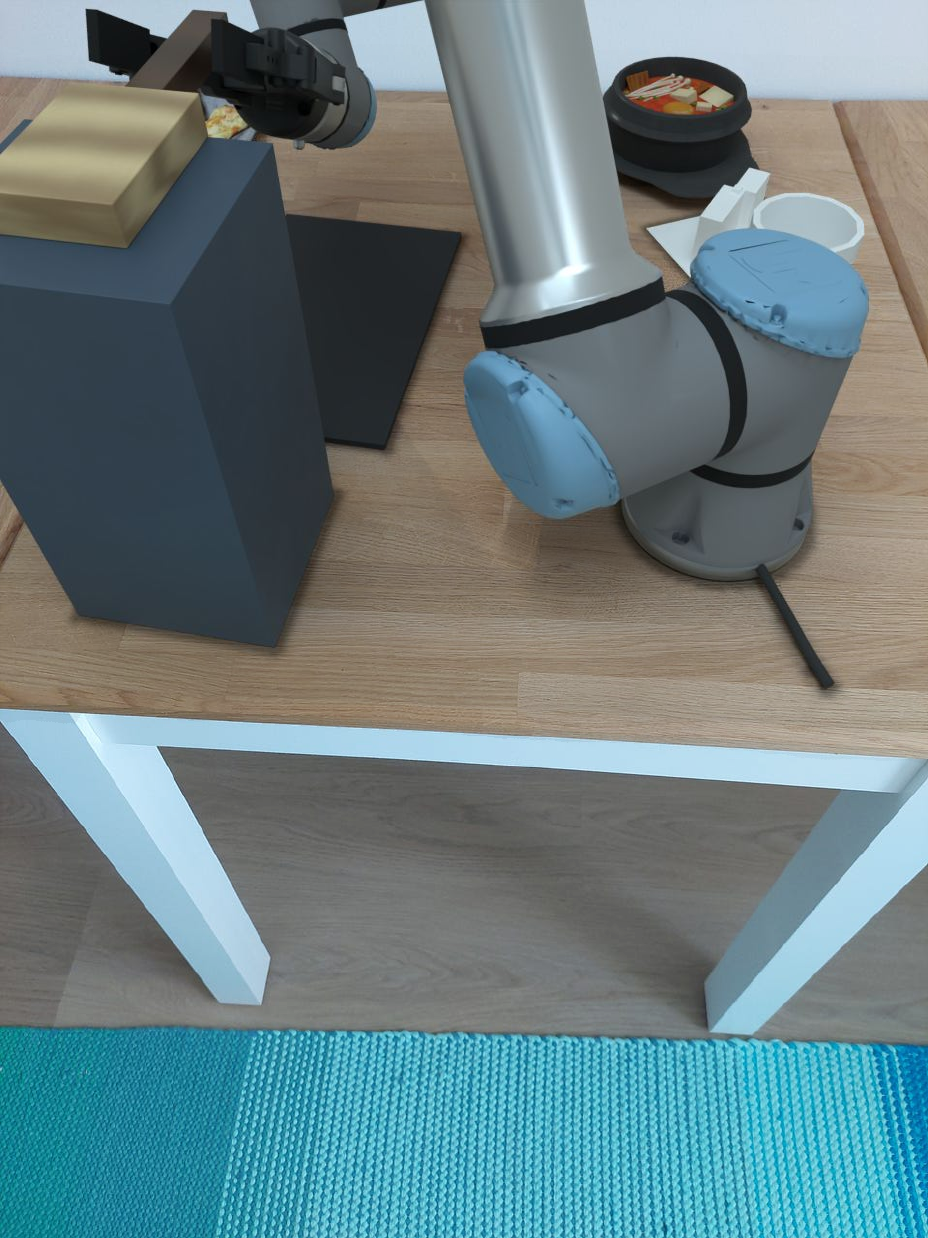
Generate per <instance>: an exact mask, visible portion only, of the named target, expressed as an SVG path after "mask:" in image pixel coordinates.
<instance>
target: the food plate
mask: <svg viewBox="0 0 928 1238" xmlns="http://www.w3.org/2000/svg"><path fill="white" fill-rule="evenodd" d="M196 93H199V96H200V101H201V105H202V110H203V114H204V118H205V123H206V127H207V132H208V137H215V138H226V139H236V140H246V141H255V139H256V138H257V136H258V134H259V132H257V131H255V130H254V129H252V128H251V127H250V126H249V125H247V124H246V123H245V122H244V120H243V119H242V118H241V117H240V115H239V114H238V112H237V111H236V109H235V107H234V105H233V104H229V103H228V102H227V101H226V100H225V99H221V98H216V97H211V96H205V95H204V94H203V93H202V92H201V89H200V88H199V89H198V90H197V91H196Z"/></svg>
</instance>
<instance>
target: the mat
mask: <svg viewBox="0 0 928 1238" xmlns="http://www.w3.org/2000/svg"><path fill="white" fill-rule="evenodd" d="M285 216H286V222H287V227H288V233H289V239H290V245H291V250H292V256H293V262H294V268H295V273H296V279H297V285H298V291H299V296H300V302H301V308H302V314H303V319H304V325H305V331H306V337H307V342H308V348H309V354H310V360H311V365H312V371H313V377H314V383H315V388H316V394H317V400H318V406H319V411H320V417H321V423H322V429H323V435H324V440H325V443H333V444H338V445H339V444H340V445H345V446H346V445H347V446H353V447H360V448H361V447H362V448H369V449H376V450H383V451H384V450H385V451H386V449H387V448H386V447H387V445H388V442H389V439H390V436H391V434H392V430H393V429H394V426H395V423H396V420H397V418H398V414H399V412H400V409H401V406H402V404H403V400H404V398H405V395H406V393H407V390H408V388H409V385H410V384H409V383H410V381H411V379H412V375H413V373H414V370H415V367H416V365H417V362H418V359H419V357H420V354H421V351H422V348H423V346H424V342H425V339H426V336H427V334H428V331H429V328H430V325H431V322H432V320H433V317H434V314H435V311H436V310H437V306H438V304H439V300H440V298H441V295H442V292H443V289H444V287H445V285H446V282H447V279H448V275H449V272H450V270H451V267H452V265H453V262H454V259H455V256H456V254H457V250H458V248H459V245H460V243H461V239H462V231H454V230H453V231H452V230H444V229H434V228H425V227H417V226H416V227H415V226H407V225H406V226H405V225H397V224H388V223H387V224H386V223H379V222H370V221H369V222H368V221H360V220H351V219H350V220H349V219H342V218H341V219H340V218H330V217H324V216H323V217H322V216H321V217H320V216H312V215H302V214H294V213H293V214H292V213H285Z"/></svg>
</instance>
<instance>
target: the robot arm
mask: <svg viewBox="0 0 928 1238" xmlns="http://www.w3.org/2000/svg"><path fill="white" fill-rule="evenodd" d="M422 1H424V5H425V10H426V13H427V17H428V21H429V25H430V29H431V30H430V31H431V33H432V37H433V41H434V46H435V50H436V53H437V58H438V61H439V66H440V70H441V75H442V78H443V82H444V87H445V90H446V94H447V98H448V102H449V107H450V111H451V114H452V119H453V122H454V127H455V132H456V135H457V139H458V143H459V147H460V151H461V156H462V159H463V163H464V164H463V165H464V167H465V172H466V175H467V179H468V184H469V187H470V192H471V196H472V200H473V204H474V208H475V212H476V216H477V220H478V223H479V229H480V233H481V236H482V240H483V244H484V248H485V252H486V256H487V261H488V265H489V267H490V272H491V277H492V281H493V289H492V292H491V295H490V296H489V299H488V301H487V302H486V304H485V306H484V308H483V310H482V312H481V314H480V316H479V318H478V325H479V328H480V332H481V336H482V340H483V344H484V349H485V350H484V351H480V352H478V353H477V354H476V355H475V356H474V358H473V359H471V360H470V361H469V362H468V364H467V365H466V366H465V369H464V372H463V379H462V380H463V381H462V382H463V385H464V387H465V389H464V391H463V396H464V402H465V407H466V411H467V414H468V418H469V420H470V423H471V426H472V429H473V431H474V433H475V436H476V438H477V441H478V442H479V445H480V447H481V449H482V451H483V453H484V454H485V457H486V458H487V461H488V462H489V464H490V465H491V466H492V468H493V470H494V472H495V473H496V474H497V476H498V477H499V479H500V480H501V482H502V483H503V484H504V485H505V486H506V487H507V489H508V490H509V491H510V493H512V495H513V496H514V497H515V498H516V499H517V500H518V501H519V502H520V503H521V504H522V505H524V506H525V507H526V508H528V509H529V510H531V511H532V512H533V513H536V514H538V515H540V516H542V517H546V518H548V519H555V520H556V519H557V520H563V519H568V518H571V517H575V516H578V515H581V514H583V513H586V512H589V511H592V510H594V509H595V510H596V509H599V508H603V509H604V508H608V507H612V506H614V505H616V504H617V503H618V502H619V501H620V500H621V509H622V516H623V519H624V522H625V524H626V527H627V529H628V531H629V532H630V534H631V535H632V538H634V540H635V541H636V542H637V543H638V544H639V546H640V547H641V548H642V549H643V550H644V551H646V552H647V553H648V554H649V555H650V556H652V557H653V558H654V559H656V560H657V561H658V562H660V563H662V564H663V565H666V566H667V567H669V568H671V569H673V570H676V571H677V572H681V573H683V574H685V575H689V576H691V577H696V578H701V579H705V580H711V581H722V582H725V581H726V582H727V581H728V582H730V581H732V582H734V581H744V580H745V581H746V580H750V579H755V578H759V579H760V581H761V583H762V585H763V586H764V588H765V589H766V592H767V593H768V595H769V597H770V599H771V600H772V602H773V604H774V605H775V607H776V609H777V610H778V613H779V614H780V616H781V617H782V619H783V621H784V623H785V624H786V626H787V628H788V630H789V632H790V634H791V636H792V638H793V639H794V641H795V643H796V645H797V647H798V649H799V650H800V652H801V653H802V655H803V657H804V658H805V660H806V662H807V663H808V665H809V667H810V668H811V671H812V672H813V673H814V675H815V676H816V678H817V679H818V681H819V682H820V684H821V686H822V687H823V689H828V688H830V687H832V686H834V684H835V680H834V679H833V677H832V676H831V675H830V673H829V671H828V670H827V669H826V667H825V666H824V664H823V662H822V661H821V659H820V658H819V656H818V654H817V653H816V651H815V649H814V648H813V646H812V644H811V642H810V641H809V639H808V637H807V635H806V634H805V631H804V630H803V628H802V626H801V625H800V623H799V620H798V619H797V617H796V616H795V614H794V612H793V611H792V609H791V607H790V606H789V605H790V604H788V602H787V600H786V598H785V597H784V595H783V593H782V591H781V590H780V588H779V586H778V585H777V583H776V581H775V580H774V578H773V576H772V575H771V574H772V573H773V572H774V571H776V570H778V569H781V568H782V567H783V566H785V565H786V564H787V563H789V562H790V561H791V560H792V559H793V558H794V557H795V556H796V554H797V553H798V552H799V550H800V549H801V547H802V545H803V544H804V541H805V539H806V536H807V534H808V532H809V530H810V527H811V524H812V520H813V513H814V512H813V511H814V493H813V492H814V490H813V469H812V466H813V465H812V459H813V456H814V454H815V452H816V449H817V446H818V444H819V441H820V439H821V437H822V434H823V432H824V430H825V427H826V424H827V422H828V420H829V418H830V415H831V413H832V410H833V407H834V404H835V403H836V400H837V397H838V395H839V392H840V390H841V388H842V385H843V382H844V380H845V378H846V375H847V373H848V371H849V368H850V366H851V363H852V361H853V358H854V356H855V355H856V354H857V353H858V352H859V350H860V348H861V344H862V338H861V337H862V334H863V330H864V328H865V325H866V322H867V318H868V317H869V316H868V315H869V311H870V302H869V301H870V293H869V290H868V287H867V285H866V282H865V281H864V279H863V277H862V276H861V274H860V273H859V272H858V271H857V270H856V269H855V268H854V266H852V264H851V265H850V264H849V263H848V262H847V261H846V260H844V259H843V258H842V257H841V256H839V255H838V254H836V253H835V252H833V251H831V250H830V249H828V248H826V247H824V246H822V245H820V244H818V243H816V242H814V241H811V240H808V239H805V238H802V237H800V236H796V235H792V234H789V233H786V232H781V231H776V230H769V229H757V228H744V229H735V230H729V231H725V232H722V233H719V234H716V235H715V236H713V237H711V238H709V239H708V240H706V241H705V242H704V243H703V244H702V246H701V247H700V248H699V251H698V253H697V256H696V257H695V258H694V260H693V261H692V262H691V264H690V274H691V278H690V277H689V280H688V282H687V283H685V284H684V285H682V286H679V287H676V288H673V289H670V290H668V291H666V289H665V284H664V283H665V282H664V278H663V273H662V269H661V268H660V267H659V266H657V265H655V263H652V262H651V261H649V260H648V259H646V258H645V257H643V256H641V255H640V254H638V253H637V251H636V250H635V249H634V248H633V247H632V245H631V241H630V235H629V229H628V225H627V219H626V213H625V209H624V203H623V198H622V193H621V187H620V183H619V177H618V171H617V170H616V166H615V161H614V155H613V150H612V145H611V139H610V134H609V129H608V124H607V118H606V113H605V108H604V102H603V92H602V87H601V82H600V78H599V77H600V76H599V71H598V67H597V66H598V65H597V60H596V56H595V55H596V54H595V50H594V44H593V40H592V35H591V30H590V29H591V28H590V23H589V19H588V13H587V7H586V3H585V0H249V3H250V5H251V9H252V11H253V15H254V18H255V20H256V24H257V26H258V29H256V30H255V29H254V30H253V31H249V30H246V29H244V28H243V27H240V26H238V25H236V24H234V23H231V22H230V21H228V22H227V21H225V20H222V19H211V50H212V72H211V73H210V75H209V76H208V77H207V78H206V80H205V81H204V82H203V84H202V85H201V86H200V87H199V88H200V89H201V92H202V93H203V94H204V95H205V96H211V97H216V98H221V99H225V100H226V101H227V102H228V103H229V104H233V105H234V107H235V109H236V111H237V112H238V114H239V115H240V117H241V118H242V119H243V120H244V122H245V123H246V124H247V125H249V126H250V127H251V128H252V129H254V130H255V131H257V132H258V134H259V133H260V134H262V135H264V136H267V137H271V138H272V137H273V138H277V139H281V140H289V141H293V142H292V145H293V148H294V149H295V150H296V151H303V150H304V149H305V146H306V144H309V145H312V146H314V147H316V148H318V149H321V150H325V151H326V150H330V151H334V150H337V149H340V150H341V149H348V148H353V147H354V146H356V145H358V144H359V143H361V142H362V141H363V140H364V139H365V138H366V137H367V136H368V135H369V133H371V130H372V129H373V126H374V124H375V121H376V118H377V113H378V102H377V95H376V91H375V89H374V86H373V84H372V82H371V80H370V79H369V77H368V76H367V75H366V74H365V71H364V70H363V69H362V68H361V67H359V65H358V62H357V59H356V56H355V52H354V48H353V45H352V42H351V39H350V36H349V31H348V27H347V24H346V21H345V18H348V17H352V16H357V15H361V14H365V13H370V12H374V11H378V10H383V9H384V10H385V9H388V8H393V7H398V6H399V7H400V6H403V5H408V4H412V3H413V4H414V3H417V2H422ZM84 9H85V23H86V39H87V53H88V56H87V57H88V62H92V63H95V64H99V65H102V66H106V67H108V72H110V73H111V74H114V75H115V76H127V77H128V82H129V81H130V80H131V79H132V78H133V77H134V76H135V74H136V73H137V72H138V71H139V70H140V69H141V68H142V67H143V65H144V64H145V63H146V62H147V61H148V60H149V59H150V57H151V56H152V55H153V54H154V53H155V52H156V51H157V50H158V48H159V47H160V46H161V45H162V44H163V43H164V42H165V41H166V39H167V38H168V37H164V36H159V35H155V34H151V29H150V28H148V27H145V26H143V25H139V24H138V23H134V22H132V21H130V20H129V21H128V20H126V19H123V18H121V17H119V16H116V15H113V14H110V13H107V12H104V11H103V10H100V9H98V8H97V9H95V8H84Z"/></svg>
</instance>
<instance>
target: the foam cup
mask: <svg viewBox="0 0 928 1238" xmlns="http://www.w3.org/2000/svg"><path fill="white" fill-rule="evenodd" d="M864 223H865V222H864V220H863V219H862V218H861V217H860V215H859V214H858V213H857V212H856V211H855V210H854V209H853V208H852V207H850V206H849V205H846V204H845V203H842V202H841V201H839V200H836V199H834V198H833V197H829V196H824V195H820V194H816V193H809V192H786V193H785V192H784V193H781V194H777V195H773V196H771V197H768V198H764V200H763V201H762V202H761V203H760V204H759V205H758V206H757V207H756V208H755V209H754V211H753V215H752V219H751V222H750V226H749V228H757V229H769V230H776V231H781V232H786V233H789V234H792V235H796V236H800V237H802V238H805V239H808V240H811V241H814V242H816V243H818V244H820V245H822V246H824V247H826V248H828V249H830V250H831V251H833V252H835V253H836V254H838V255H839V256H841V257H842V258H843V259H844V260H846V261H847V262H848V263H849V264H850V265H851V266H852V264H853V263H854V262H855V260H856V259H857V257H858V253H859V251H860V248H861V245H862V243H863V240H864V237H865V225H864Z"/></svg>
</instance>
